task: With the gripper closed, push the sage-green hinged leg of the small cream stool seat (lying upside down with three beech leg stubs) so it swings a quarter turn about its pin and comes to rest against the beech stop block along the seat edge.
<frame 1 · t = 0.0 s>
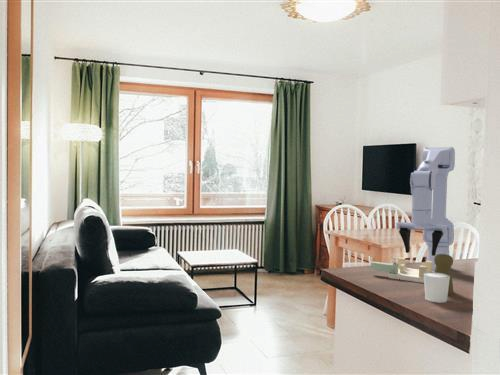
hand: (420, 253, 140), 10 cm above the kitchen counter, tool pointing down, fingers open, 7 cm apart
shot glass: (435, 300, 127), on the kitchen counter
stool seat: (411, 276, 152), on the kitchen counter
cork: (442, 292, 135), on the kitchen counter
hinged leg: (384, 266, 153), point 3 cm above the kitchen counter, hinge at 90.0°
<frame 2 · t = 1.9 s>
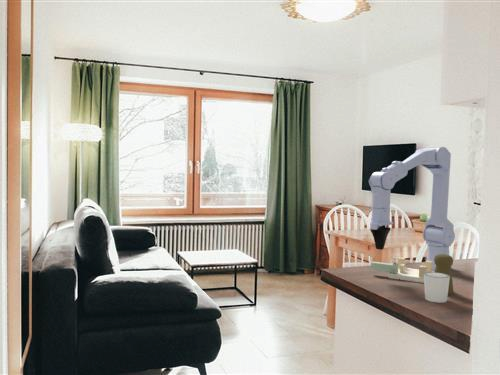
hand: (379, 249, 150), 10 cm above the kitchen counter, tool pointing down, fingers closed
nothing on the kitchen counter moved.
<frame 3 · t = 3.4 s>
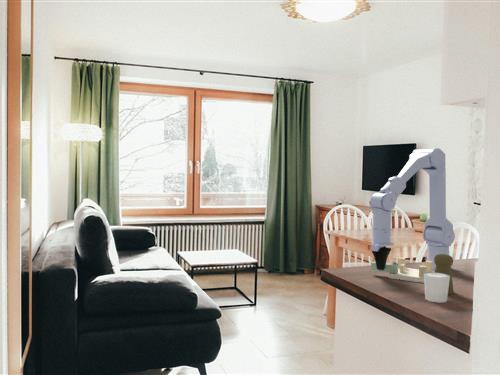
hand: (380, 269, 151), 3 cm above the kitchen counter, tool pointing down, fingers closed, pressing on hinged leg
hinged leg: (384, 266, 153), point 3 cm above the kitchen counter, hinge at 90.0°, touching gripper
everything else where it was.
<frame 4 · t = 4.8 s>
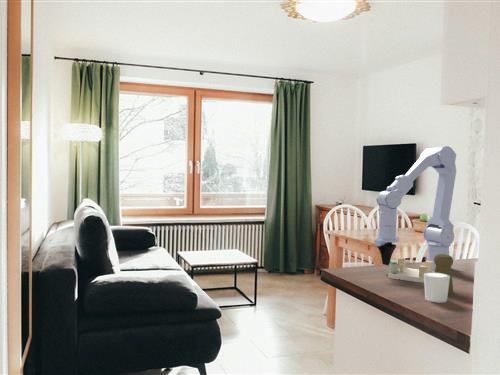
hand: (385, 264, 157), 3 cm above the kitchen counter, tool pointing down, fingers closed, pressing on hinged leg
hinged leg: (393, 265, 154), point 3 cm above the kitchen counter, hinge at 20.1°, touching gripper
everything else where it was.
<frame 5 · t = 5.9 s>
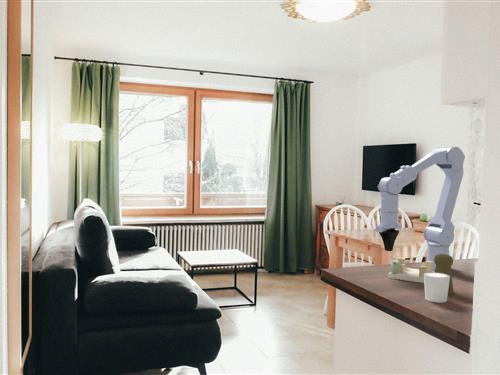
hand: (388, 250, 158), 8 cm above the kitchen counter, tool pointing down, fingers closed
hinged leg: (395, 265, 154), point 3 cm above the kitchen counter, hinge at 12.4°
everything else where it was.
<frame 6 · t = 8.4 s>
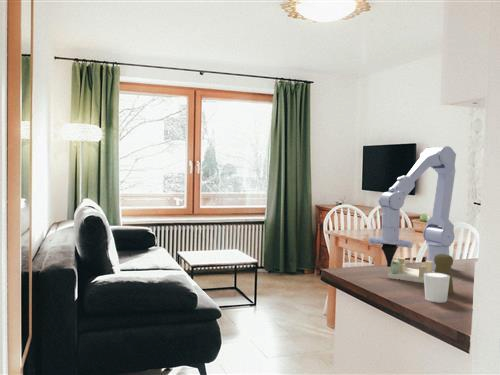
hand: (389, 266, 156), 3 cm above the kitchen counter, tool pointing down, fingers closed, pressing on hinged leg
hinged leg: (395, 265, 154), point 3 cm above the kitchen counter, hinge at 12.1°, touching gripper
everything else where it was.
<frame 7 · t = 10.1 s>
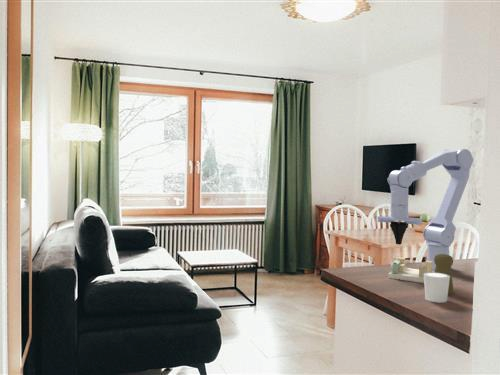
hand: (398, 244, 158), 10 cm above the kitchen counter, tool pointing down, fingers closed
hinged leg: (395, 265, 154), point 3 cm above the kitchen counter, hinge at 9.3°
everything else where it was.
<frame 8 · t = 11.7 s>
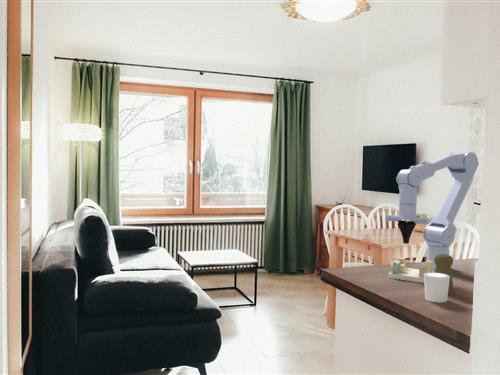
hand: (406, 243, 157), 10 cm above the kitchen counter, tool pointing down, fingers closed
nothing on the kitchen counter moved.
at the end: hinged leg at +9° (first picture: +90°) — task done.
